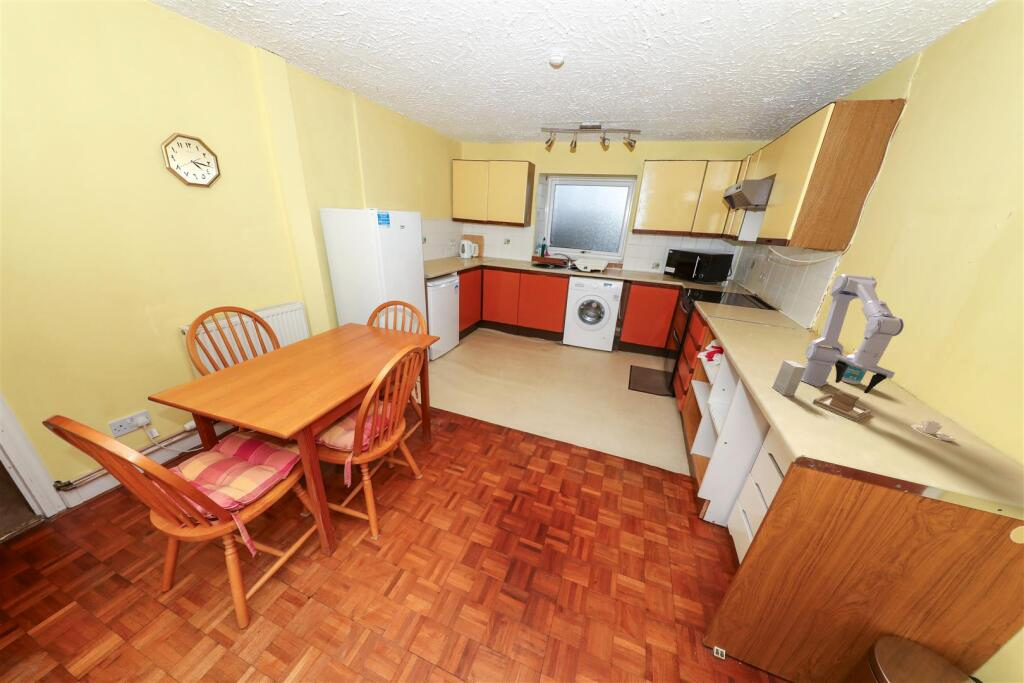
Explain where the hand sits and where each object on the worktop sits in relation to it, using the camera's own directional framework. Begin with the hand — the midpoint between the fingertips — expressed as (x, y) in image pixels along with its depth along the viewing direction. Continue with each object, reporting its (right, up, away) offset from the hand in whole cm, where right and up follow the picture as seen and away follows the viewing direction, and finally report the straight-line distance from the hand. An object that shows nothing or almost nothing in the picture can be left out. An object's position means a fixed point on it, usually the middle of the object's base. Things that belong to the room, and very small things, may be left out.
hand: (851, 387), depth 113 cm
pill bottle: (+25, -1, +26) cm, 36 cm away
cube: (-1, -7, +3) cm, 8 cm away
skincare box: (-14, -4, +12) cm, 19 cm away
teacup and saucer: (+15, -15, -9) cm, 23 cm away
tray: (-1, -8, +3) cm, 9 cm away
